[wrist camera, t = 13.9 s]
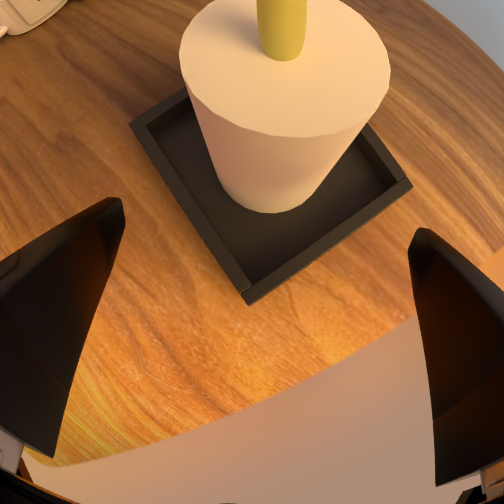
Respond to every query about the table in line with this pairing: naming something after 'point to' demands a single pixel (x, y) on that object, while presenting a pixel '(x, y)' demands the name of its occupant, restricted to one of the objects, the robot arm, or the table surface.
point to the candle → (280, 92)
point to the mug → (25, 14)
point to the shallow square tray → (266, 224)
